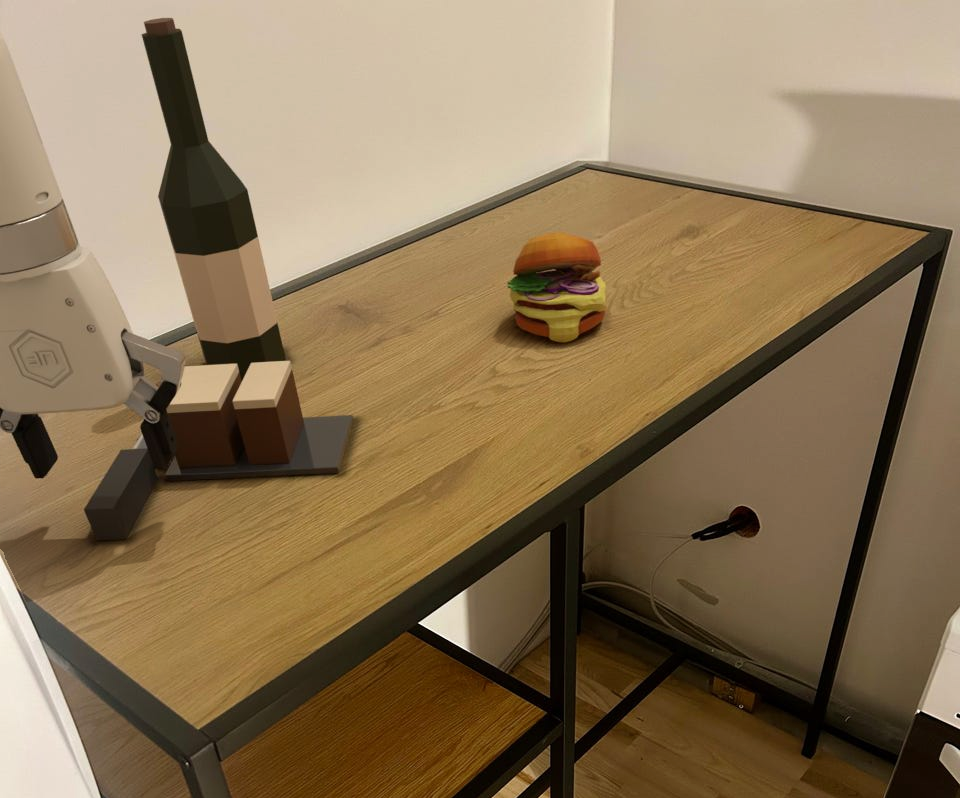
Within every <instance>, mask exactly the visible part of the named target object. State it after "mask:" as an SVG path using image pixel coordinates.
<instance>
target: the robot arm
mask: <svg viewBox="0 0 960 798" xmlns="http://www.w3.org/2000/svg"><path fill="white" fill-rule="evenodd" d="M186 362H187V358H186V355H185V353H184V352H182V351H180V350H177V349H174V348H172V347H170V346H167V345H164V344H161V343H158V342H156V341H153V340H150V339H148V338H146V337H142V336H139V335H137V334H135V333H134V332H133V329H132V328H131V325H130V322H129V320H128V318H127V316H126V313H125V312H124V308H123V307H122V305H121V302H120V300H119V299H118V296H117V294H116V292H115V290H114V288H113V287H112V284H111V282H110V280H109V279H108V277H107V275H106V273H105V272H104V270H103V268H102V266H101V265H100V263H99V262H98V260H97V257H95V255H94V253H93V252H92V250H91V249H90V247H89V246H81V245H80V242H79V239H78V237H77V234H76V231H75V228H74V226H73V223H72V220H71V217H70V214H69V211H68V209H67V206H66V202H65V201H64V199H63V196H62V192H61V190H60V187H59V185H58V182H57V179H56V176H55V174H54V170H53V168H52V165H51V162H50V159H49V156H48V154H47V152H46V149H45V145H44V143H43V141H42V138H41V135H40V132H39V129H38V127H37V124H36V121H35V118H34V116H33V112H32V110H31V107H30V104H29V102H28V99H27V96H26V93H25V91H24V88H23V84H22V82H21V79H20V77H19V74H18V71H17V68H16V66H15V63H14V60H13V57H12V55H11V52H10V50H9V47H8V44H7V42H6V40H5V38H4V36H3V35H2V32H0V429H1V430H2V431H3V432H5V433H7V434H11V435H12V438H13V441H14V442H15V444H16V446H17V448H18V450H19V452H20V454H21V455H20V456H21V457H22V459H23V462H25V464H27V465H28V467H29V469H30V471H31V473H32V476H33V477H34V479H44V478H45V477H47V475H48V474H49V473H50V471H51V470H52V468H54V465H55V464H56V462H57V461H58V459H59V455H58V453H57V450H56V448H55V446H54V444H53V442H52V440H51V439H52V438H51V437H50V434H49V433H48V430H47V427H46V426H45V424H44V421H43V419H42V417H41V416H39V415H40V414H56V413H57V414H58V413H71V412H83V411H86V412H87V411H97V410H107V409H113V408H119V407H120V406H122V405H125V406H126V407H128V408H129V410H132V412H134V413H135V414H137V416H139V417H140V418H142V419H143V420H142V422H141V423H140V425H139V427H140V428H139V429H140V432H141V435H143V437H144V440H145V443H146V446H147V448H148V451H149V454H150V456H151V459H152V462H153V465H154V467H155V470H156V471H158V472H163V471H167V470H168V468H169V466H170V464H171V462H172V461H173V459H174V457H175V453H176V451H177V449H178V443H177V439H176V436H175V433H174V430H173V427H172V424H171V421H170V418H169V416H168V413H167V410H166V409H167V407H168V406H169V404H170V403H171V401H172V400H173V398H174V397H175V395H176V393H177V392H178V390H179V388H180V387H181V380H182V376H183V372H184V367H185V365H186ZM145 364H146V365H148V366H151V367H154V368H156V369H158V370H159V372H160V373H161V377H160V385H159V386H157V385H156V384H155V383H154V382H152V381H151V380H150V379H149V378H147V377H145V373H146V370H145Z"/></svg>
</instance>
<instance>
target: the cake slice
mask: <svg viewBox="0 0 960 798" xmlns="http://www.w3.org/2000/svg"><path fill="white" fill-rule="evenodd" d="M232 402H233V405H234V409H235V413H236V417H237V420H238V424H239V428H240V431H241V435H242V439H243V442H244V446H245V450H246V453H247V457H248V461H249V464H250V465H256V464H277V463H290V460H291V457H292V454H293V451H294V449H295V446H296V443H297V440H298V438H299V435H300V432H301V429H302V426H303V424H304V420H303V418H304V416H303V412H302V407H301V402H300V398H299V393H298V388H297V385H296V379H295V375H294V371H293V367H292V362H291V360H286V361H275V362H257V363H251V364H250V366H249V368H248V370H247V372H246V374H245V376H244V378H243V380H242V382H241V385H240V387H239V389H238V391H237V393H236V395H235V397H234V399H233V401H232Z"/></svg>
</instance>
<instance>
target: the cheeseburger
mask: <svg viewBox="0 0 960 798" xmlns="http://www.w3.org/2000/svg"><path fill="white" fill-rule="evenodd" d="M598 250H599V249H598V248H597V246H596V245H595V243H594V241H592V240H589V239H586V238H584V237H579V236H576V235H573V234H570V233H569V234H568V233H565V232H551V233H546V234H542V235H537V236H534V237H531V238H530V239H529V240H528V241H527V242H526V243H525V244H524V246H522V249H521V250H520V252H519V254H518V256H517V257H516V259H515V262H514V266H513V270H512V273H513V275H514V277H512V278H511V279H510V280H509V281H507V283H506V284H507V289H510V290H509V298H510V299H511V301H512V303H513V304H512V307H513V311H514V319H515V322H516V326H517V327H519V328H520V329H521V330H523V331H526V332H529V333H531V334H533V335H536V336H540V337H545V338H548V339H549V340H551V341H552V342H556V343H563V344H564V343H569V342H572V341H573V340H576V339H577V338H578V336H579V335H581V334H583V333H585V332H587V331H589V330H591V329H593V328H594V327H596V326H597V325H598V324H600V323H601V322H603V321H604V318H605V314H606V313H605V312H606V305H607V303H606V302H607V301H606V297H607V295H606V289H607V285H606V283H605V282H604V280H603V278H602V276H601V272H600V270H596V269H597V268H598V267H600V266H601V265H602V260H601V257H600V254H599V253H600V252H599V251H598ZM595 270H596V271H595Z"/></svg>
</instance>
